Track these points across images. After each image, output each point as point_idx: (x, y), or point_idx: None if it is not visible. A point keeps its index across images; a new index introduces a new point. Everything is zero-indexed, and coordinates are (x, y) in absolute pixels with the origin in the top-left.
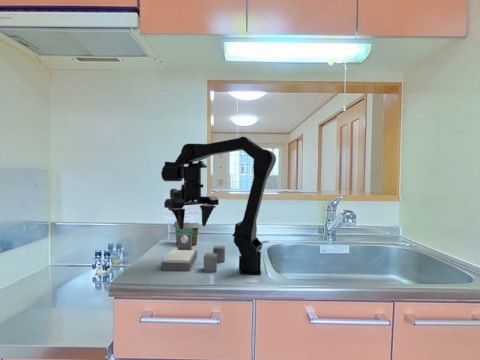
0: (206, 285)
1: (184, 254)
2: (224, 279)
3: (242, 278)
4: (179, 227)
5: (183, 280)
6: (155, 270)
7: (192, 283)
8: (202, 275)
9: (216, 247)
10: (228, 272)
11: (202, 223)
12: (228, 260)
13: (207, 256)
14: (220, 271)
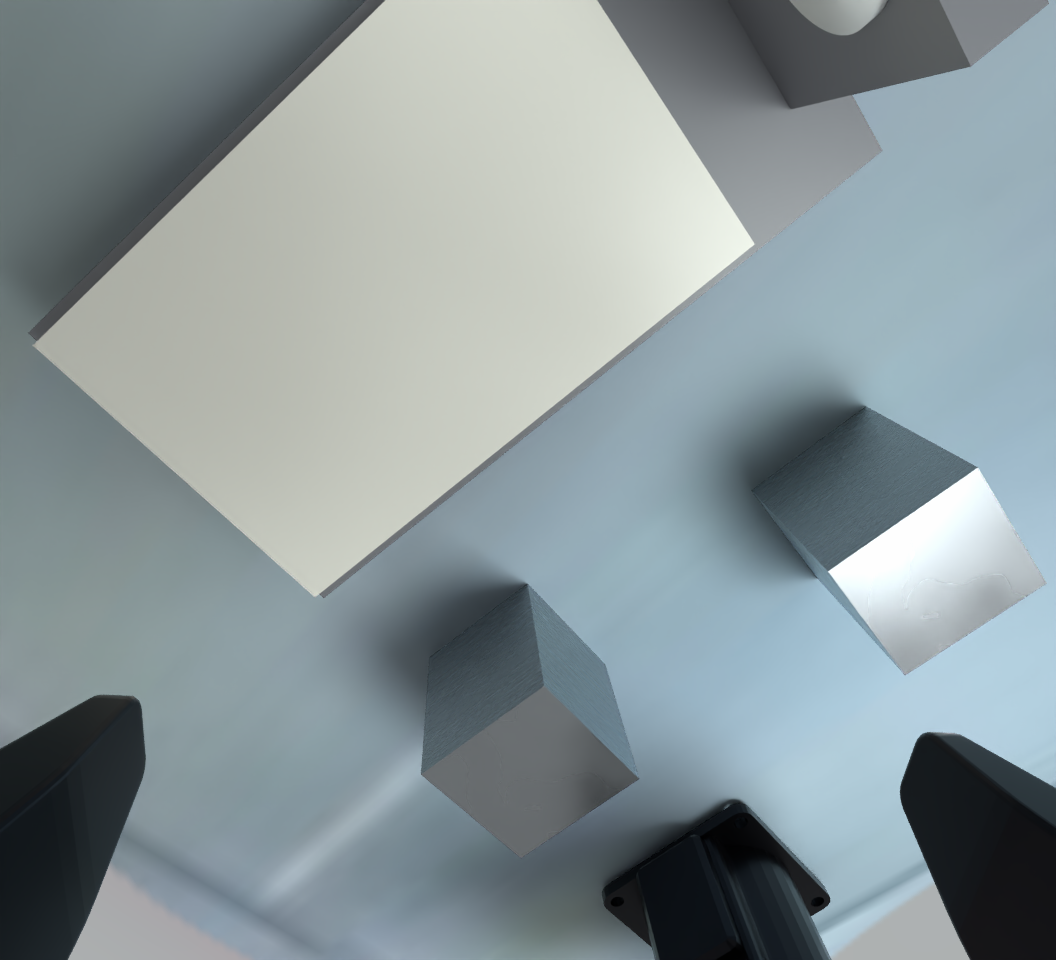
0: (212, 894)
1: (463, 330)
2: (416, 886)
3: (534, 941)
4: (58, 721)
5: None
6: (13, 258)
7: (145, 809)
8: (346, 724)
9: (895, 570)
10: None
11: (960, 789)
12: None
13: (453, 798)
14: None
